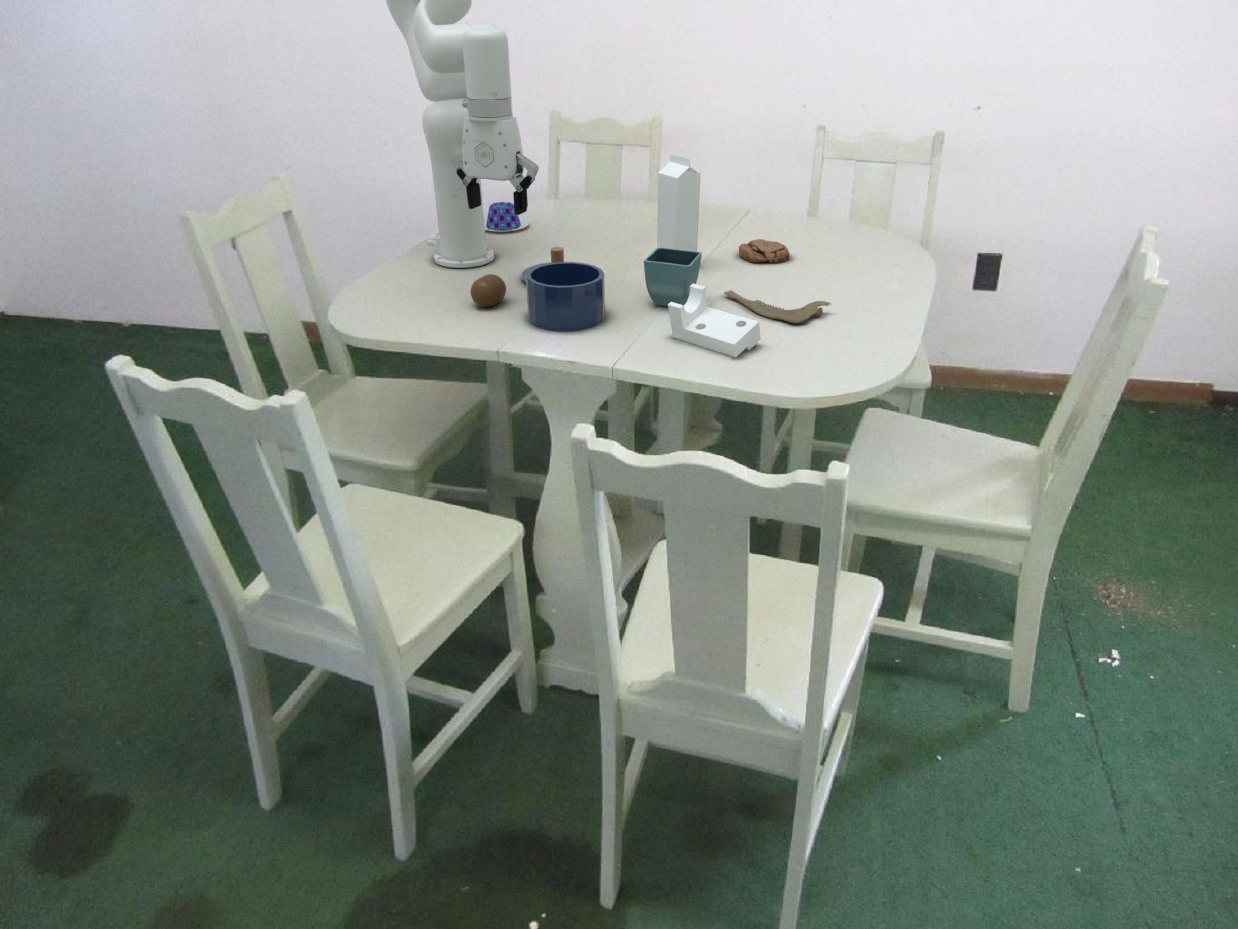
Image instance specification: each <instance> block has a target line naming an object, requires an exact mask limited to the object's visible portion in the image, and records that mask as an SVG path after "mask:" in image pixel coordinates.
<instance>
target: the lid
mask: <svg viewBox="0 0 1238 929" xmlns="http://www.w3.org/2000/svg"><path fill="white" fill-rule="evenodd" d="M549 250H550V261H549V262H543V263H538V264H534V265H531V266H528V267H527V268H525V269H524V270H523V271H521V274H520V276H521V281H522V282H523V283H525V284H526V274H527V272H528V271H529V270H531V269H533V268H534V267H537V266H540V265H544V264H548V263H556V262H565V249H564V247H562V246H553V247H551V248H550V249H549Z"/></svg>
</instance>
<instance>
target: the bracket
mask: <svg viewBox="0 0 1238 929" xmlns="http://www.w3.org/2000/svg"><path fill="white" fill-rule="evenodd" d="M706 288H707V287H706V286H704V285H700V284H697V283H696V284H692V285H691V286H690V294H689V298H688V300H687V301H686V302H685V303H684V305H681V304H677V303H674V302H670V303H669V304H668V306H667V308H668V316H669V322H670V327H671V333H672V338H673V339H677V340H679V341H682V342H686V343H689V344H692V345H695V346H698V347H701V348H705V349H708V350H711V351H714V352H716V353H720V354H723V355H727V356H729V357H732V358H738V357H739V355H741V353H743V351H748V352H749V351H750V350H751V349H752V348H753V347H755V345H757V344H758V343H759V342H760V341H761V339H762V338H761V329H760V328H761V327H760V321H758V320H755V319H751V318H747V317H743V316H740V315H737V314H734V313H730V312H728V311H727V312H726V311H723V310H720V309H716V308H713V307H709V304H708V303H709V302H708V296H707V289H706Z"/></svg>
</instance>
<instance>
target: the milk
mask: <svg viewBox="0 0 1238 929" xmlns="http://www.w3.org/2000/svg"><path fill="white" fill-rule="evenodd" d="M657 182H658V183H657V219H656V220H657V225H656V228H657V229H656V232H657V233H656V248H669V249H678V250H687V251H696V252H698V246H699V245H698V242H699V220H700V198H701V196H700V194H701V173H700V172H698V171H697V170H696V169H694V168H692V167H691V160H690V158H688V157H684V156H680V155H677V154H672V153H670V154H669V162H668V163H666V165H665V166H663V168H662V169H660V170H659V171H658V174H657Z"/></svg>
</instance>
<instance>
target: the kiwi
mask: <svg viewBox="0 0 1238 929" xmlns="http://www.w3.org/2000/svg"><path fill="white" fill-rule="evenodd" d="M506 293H507V285H506V283H505V281H504V279H502V277H501V276H500V275H497V274H492V273H489V274H485V275H483V276H481V277H479V278H478V279H475V281H473V283H472V285H471V287H470V297H471V299H472V301H473V303H474V304H476V305H477V306H479V307H481V308H490V307H493V306H494V305H496V304H498V303H500V302H501V301H503V299H504V297H505V296H506Z"/></svg>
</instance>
